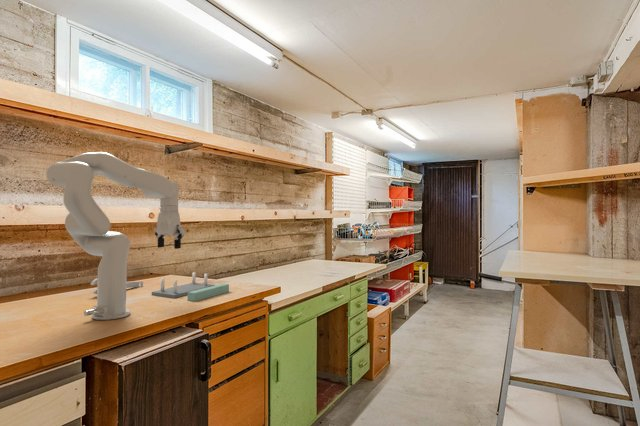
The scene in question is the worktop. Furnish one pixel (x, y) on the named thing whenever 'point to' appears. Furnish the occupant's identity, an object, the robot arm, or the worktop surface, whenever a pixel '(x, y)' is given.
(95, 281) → the wrench
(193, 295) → the bar
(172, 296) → the stand
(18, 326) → the worktop surface
